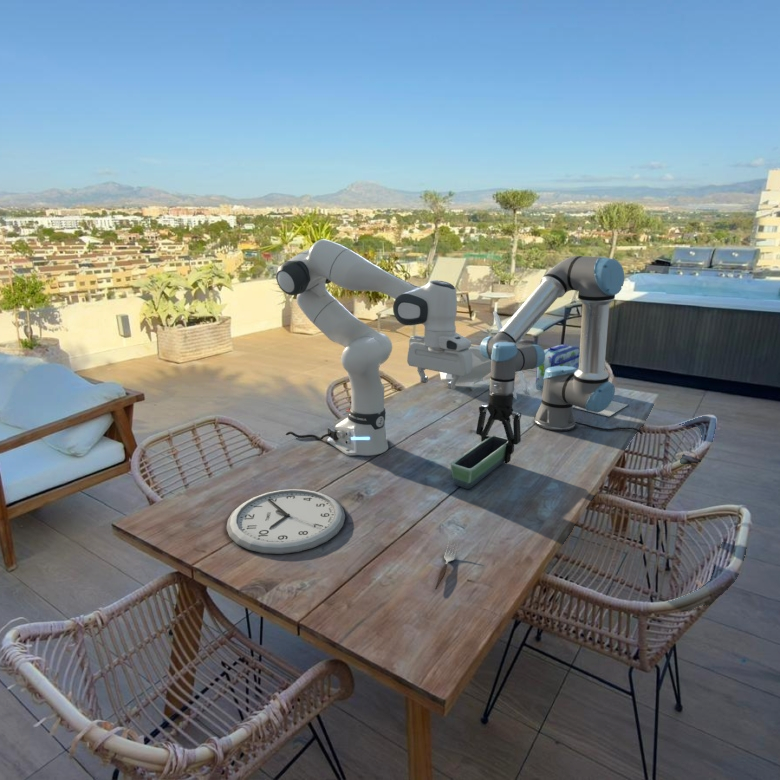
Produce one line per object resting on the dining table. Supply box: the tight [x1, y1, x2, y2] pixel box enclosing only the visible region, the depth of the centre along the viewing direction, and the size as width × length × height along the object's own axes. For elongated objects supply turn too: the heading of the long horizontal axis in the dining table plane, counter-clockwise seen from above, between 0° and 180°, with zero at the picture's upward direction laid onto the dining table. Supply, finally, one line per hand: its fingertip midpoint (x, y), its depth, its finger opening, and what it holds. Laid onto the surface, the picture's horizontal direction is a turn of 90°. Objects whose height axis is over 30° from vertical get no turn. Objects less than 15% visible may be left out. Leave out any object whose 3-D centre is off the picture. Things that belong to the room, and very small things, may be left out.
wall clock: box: [226, 488, 346, 555], centre depth 135 cm, size 30×2×30 cm
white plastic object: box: [439, 310, 531, 400], centre depth 245 cm, size 37×45×31 cm
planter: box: [450, 434, 508, 490], centre depth 162 cm, size 28×7×7 cm, turn 143°
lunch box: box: [535, 344, 580, 392], centre depth 247 cm, size 26×11×21 cm, turn 134°
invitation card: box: [573, 400, 629, 418], centre depth 226 cm, size 21×1×15 cm
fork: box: [434, 542, 459, 590], centre depth 116 cm, size 3×16×2 cm, turn 160°
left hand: (437, 385), depth 153 cm, fingers open, 8 cm apart
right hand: (496, 458), depth 171 cm, fingers closed on planter, 7 cm apart
